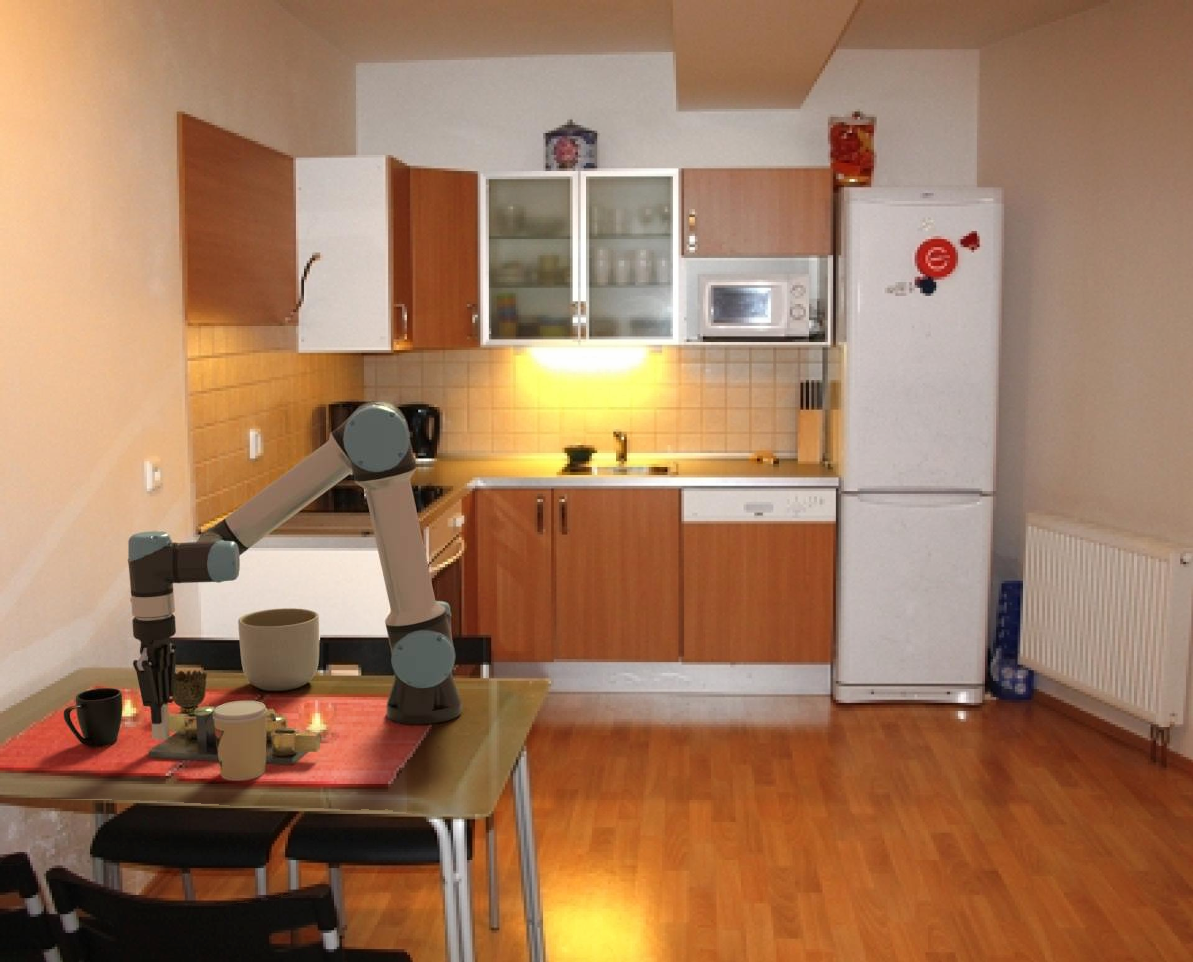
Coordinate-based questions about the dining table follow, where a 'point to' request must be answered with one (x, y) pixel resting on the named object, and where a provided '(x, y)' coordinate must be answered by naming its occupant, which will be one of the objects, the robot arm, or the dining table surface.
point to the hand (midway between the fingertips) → (161, 738)
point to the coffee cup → (241, 739)
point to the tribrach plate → (209, 754)
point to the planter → (279, 647)
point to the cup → (189, 690)
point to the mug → (97, 716)
